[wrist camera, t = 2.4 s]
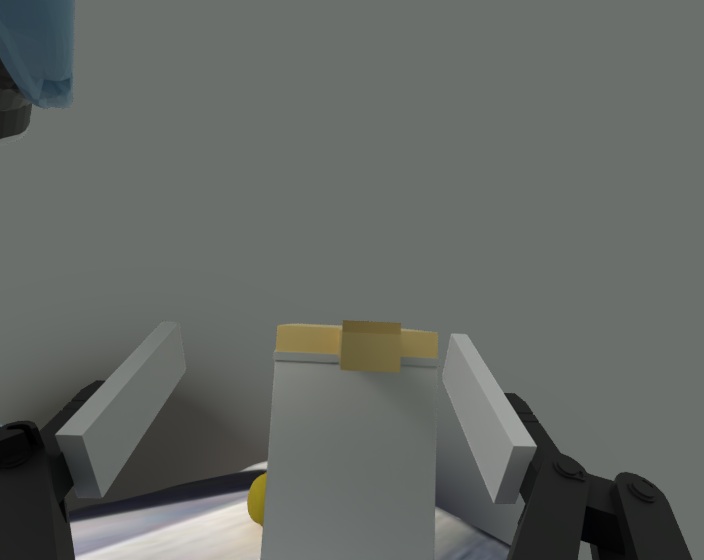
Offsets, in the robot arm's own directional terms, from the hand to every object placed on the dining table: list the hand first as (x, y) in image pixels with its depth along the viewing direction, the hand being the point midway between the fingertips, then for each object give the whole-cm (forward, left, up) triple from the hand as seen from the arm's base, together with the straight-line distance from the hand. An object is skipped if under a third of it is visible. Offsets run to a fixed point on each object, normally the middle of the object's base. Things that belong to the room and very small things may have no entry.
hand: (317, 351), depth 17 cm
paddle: (-2, +20, -2) cm, 20 cm away
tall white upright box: (-3, +25, -32) cm, 41 cm away
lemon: (-19, +39, -32) cm, 54 cm away
